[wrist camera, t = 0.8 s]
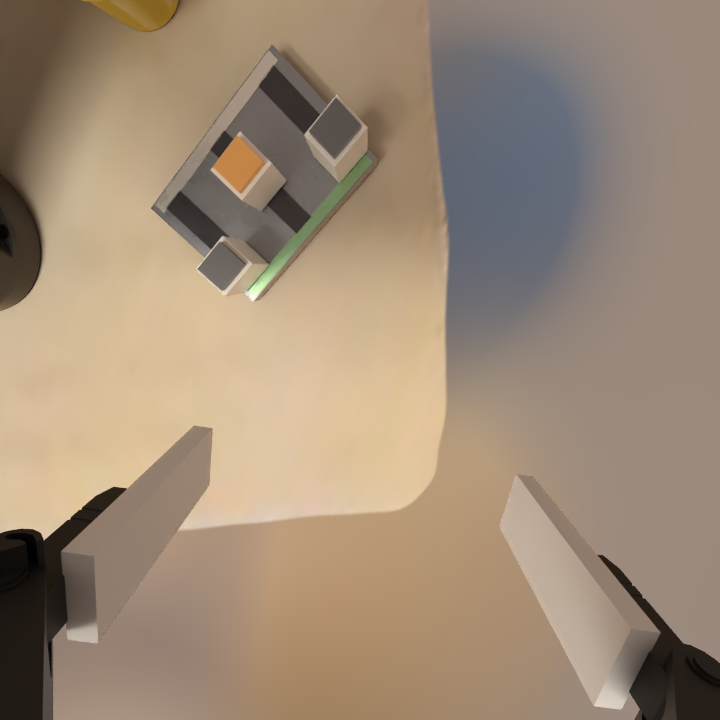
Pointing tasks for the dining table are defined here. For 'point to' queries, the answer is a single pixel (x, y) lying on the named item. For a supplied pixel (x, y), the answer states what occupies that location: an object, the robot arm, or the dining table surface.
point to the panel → (284, 150)
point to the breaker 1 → (248, 173)
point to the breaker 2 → (232, 266)
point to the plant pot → (139, 12)
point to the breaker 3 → (338, 138)
